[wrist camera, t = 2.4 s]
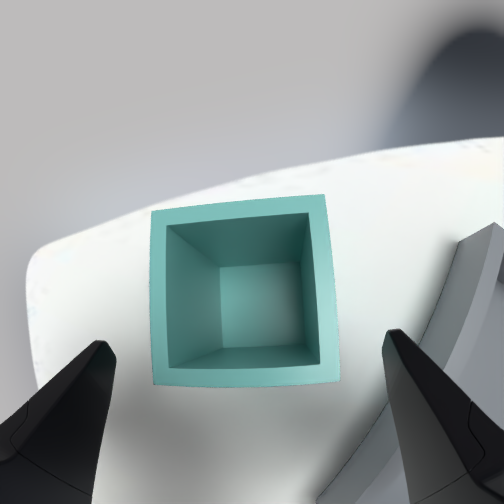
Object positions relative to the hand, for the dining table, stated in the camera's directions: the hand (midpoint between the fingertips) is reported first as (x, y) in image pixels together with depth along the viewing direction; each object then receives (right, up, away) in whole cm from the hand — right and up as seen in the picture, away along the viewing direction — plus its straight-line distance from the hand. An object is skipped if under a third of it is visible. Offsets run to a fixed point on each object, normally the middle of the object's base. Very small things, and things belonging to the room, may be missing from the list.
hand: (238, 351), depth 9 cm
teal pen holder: (+1, 0, +9) cm, 9 cm away
